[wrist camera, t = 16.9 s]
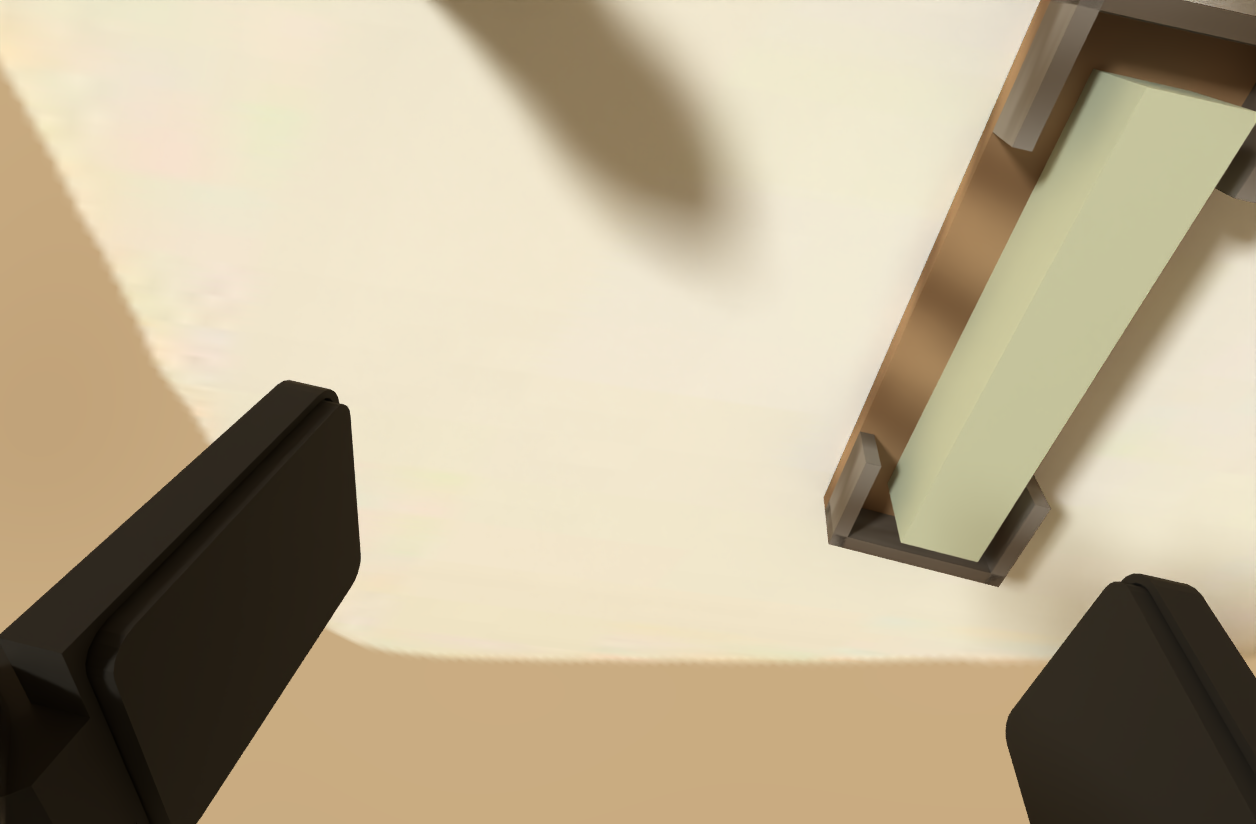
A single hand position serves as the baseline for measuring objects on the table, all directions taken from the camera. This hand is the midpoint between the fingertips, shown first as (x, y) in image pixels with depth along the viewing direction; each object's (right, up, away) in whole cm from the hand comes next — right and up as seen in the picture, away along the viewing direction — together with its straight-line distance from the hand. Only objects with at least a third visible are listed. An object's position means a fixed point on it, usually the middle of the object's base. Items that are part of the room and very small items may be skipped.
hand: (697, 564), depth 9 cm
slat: (+18, +6, +26) cm, 32 cm away
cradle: (+18, +7, +27) cm, 34 cm away
